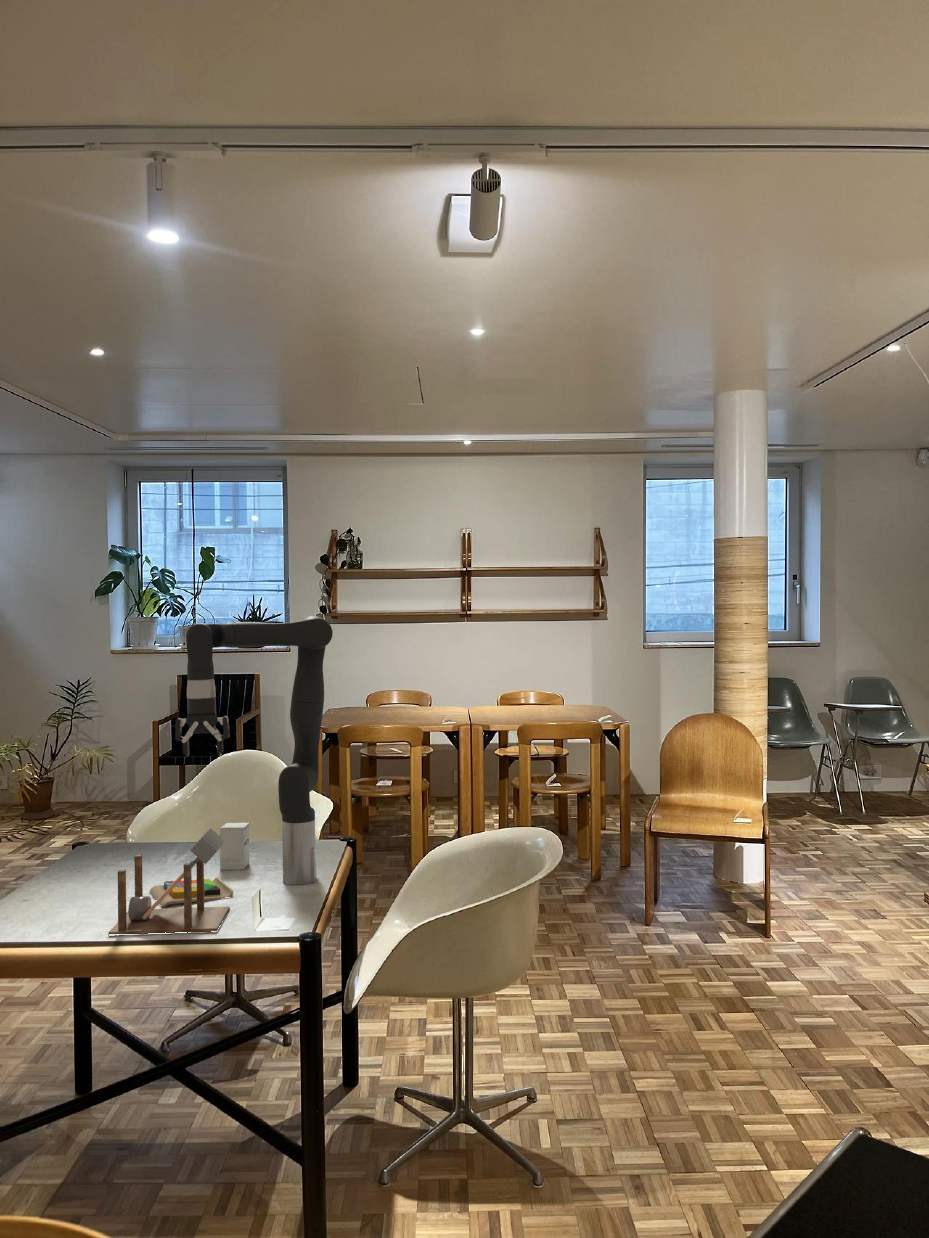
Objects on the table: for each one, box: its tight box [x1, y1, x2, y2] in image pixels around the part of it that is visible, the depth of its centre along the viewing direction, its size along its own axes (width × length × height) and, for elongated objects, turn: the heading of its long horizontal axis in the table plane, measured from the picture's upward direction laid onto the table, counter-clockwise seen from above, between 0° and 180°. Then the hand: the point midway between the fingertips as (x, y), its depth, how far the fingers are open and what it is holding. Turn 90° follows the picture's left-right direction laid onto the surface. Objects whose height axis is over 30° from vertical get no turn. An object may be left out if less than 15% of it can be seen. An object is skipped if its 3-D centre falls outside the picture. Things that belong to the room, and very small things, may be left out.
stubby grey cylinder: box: [127, 895, 152, 921], centre depth 226 cm, size 6×6×4 cm
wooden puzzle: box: [149, 877, 234, 908], centre depth 250 cm, size 18×19×4 cm
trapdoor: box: [142, 827, 225, 920], centre depth 226 cm, size 23×12×5 cm
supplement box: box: [219, 822, 250, 871], centre depth 278 cm, size 7×7×13 cm
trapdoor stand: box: [108, 854, 231, 935], centre depth 226 cm, size 25×17×16 cm
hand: (203, 755), depth 252 cm, fingers open, 8 cm apart
